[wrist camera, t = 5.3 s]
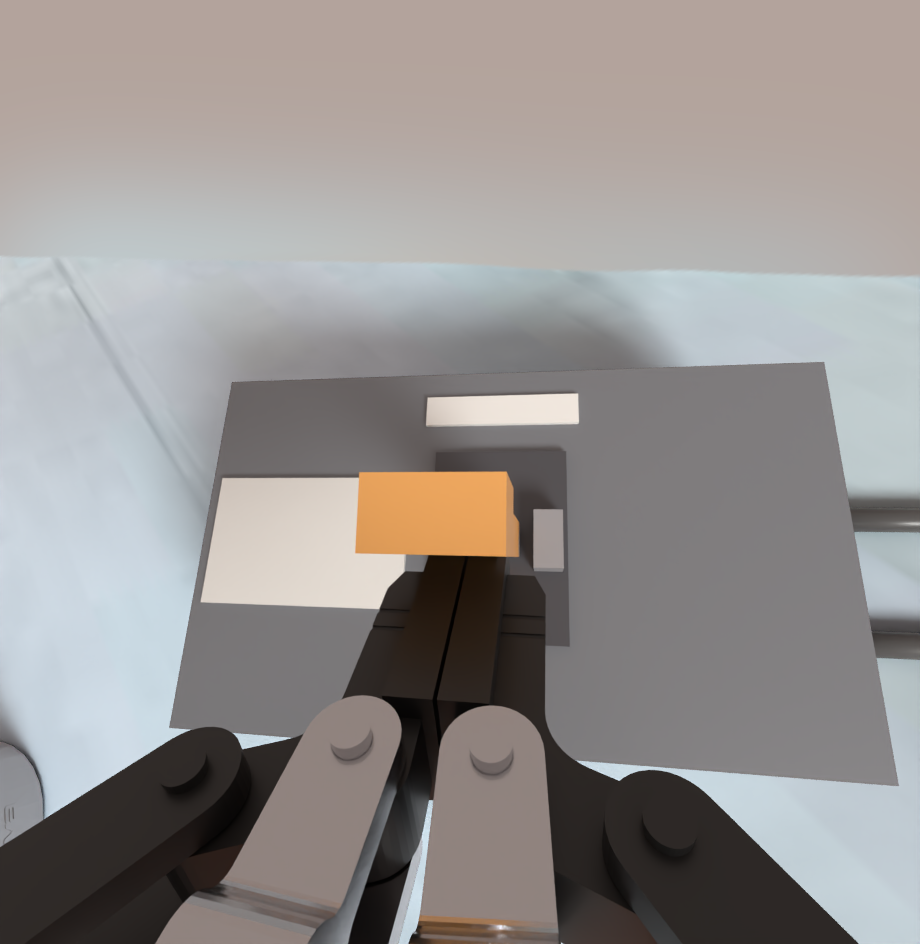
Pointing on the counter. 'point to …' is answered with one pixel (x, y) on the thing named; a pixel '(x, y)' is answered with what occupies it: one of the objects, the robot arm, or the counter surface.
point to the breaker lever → (437, 514)
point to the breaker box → (568, 559)
